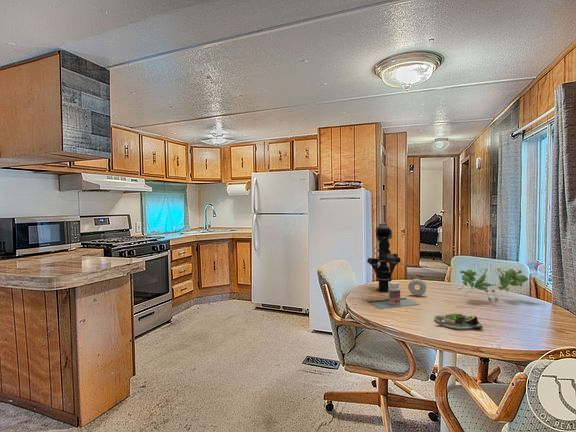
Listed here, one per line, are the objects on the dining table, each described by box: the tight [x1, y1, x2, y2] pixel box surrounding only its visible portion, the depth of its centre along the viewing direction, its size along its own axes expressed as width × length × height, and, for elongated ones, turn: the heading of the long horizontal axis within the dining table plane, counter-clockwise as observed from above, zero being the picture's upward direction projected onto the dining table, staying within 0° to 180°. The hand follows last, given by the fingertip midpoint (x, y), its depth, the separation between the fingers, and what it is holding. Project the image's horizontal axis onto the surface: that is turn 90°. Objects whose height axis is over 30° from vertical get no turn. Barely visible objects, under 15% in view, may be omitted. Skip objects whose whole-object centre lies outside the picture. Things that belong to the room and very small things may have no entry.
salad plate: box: [433, 313, 484, 331], centre depth 145 cm, size 19×18×5 cm
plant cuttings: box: [456, 268, 529, 302], centre depth 182 cm, size 35×17×22 cm
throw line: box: [367, 297, 408, 304], centre depth 183 cm, size 2×24×1 cm, turn 105°
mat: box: [369, 298, 420, 310], centre depth 176 cm, size 10×24×1 cm, turn 105°
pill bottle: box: [387, 281, 401, 305], centre depth 176 cm, size 6×6×11 cm
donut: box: [407, 278, 427, 297], centre depth 192 cm, size 10×4×10 cm, turn 70°
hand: (384, 275), depth 189 cm, fingers open, 9 cm apart
